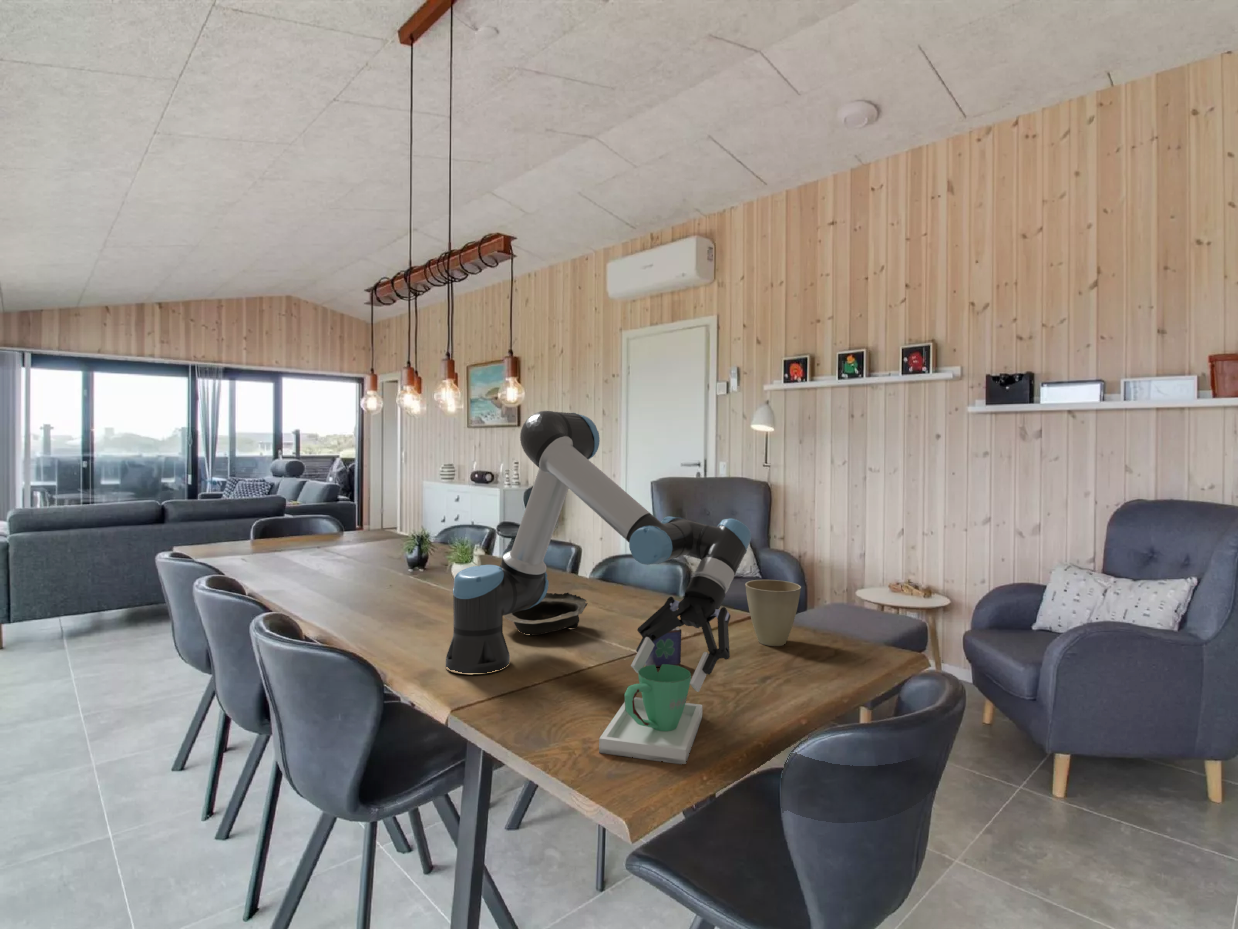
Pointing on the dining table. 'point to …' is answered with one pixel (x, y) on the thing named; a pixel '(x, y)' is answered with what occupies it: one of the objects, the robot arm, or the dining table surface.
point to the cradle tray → (651, 736)
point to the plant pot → (772, 609)
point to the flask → (666, 649)
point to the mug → (660, 696)
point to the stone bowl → (549, 614)
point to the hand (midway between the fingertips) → (663, 678)
